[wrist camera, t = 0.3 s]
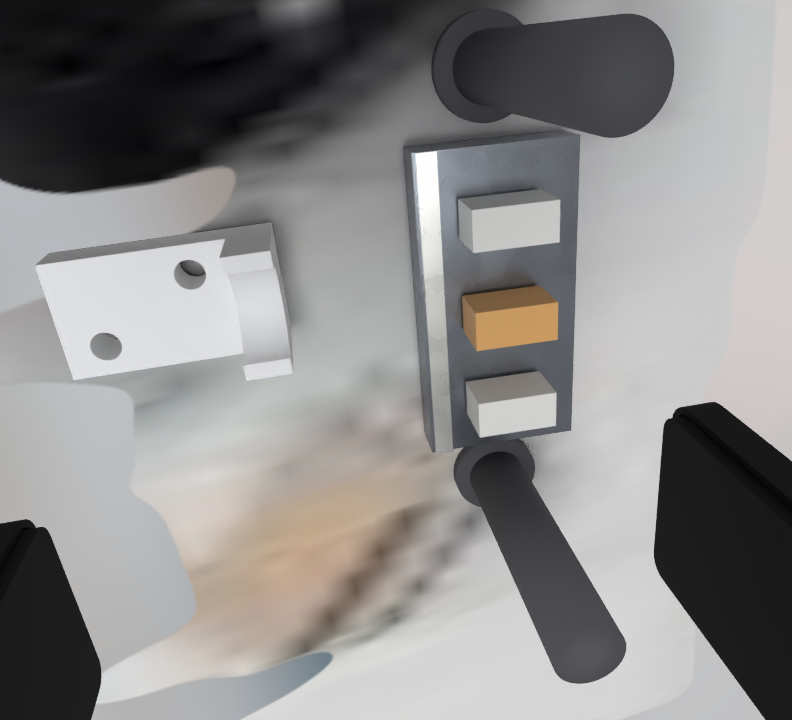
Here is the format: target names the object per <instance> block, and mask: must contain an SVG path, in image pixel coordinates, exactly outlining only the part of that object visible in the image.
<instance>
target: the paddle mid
mask: <svg viewBox="0 0 792 720" xmlns="http://www.w3.org/2000/svg"><path fill="white" fill-rule="evenodd" d="M462 306H463V329H464V333H465V334H466V336H467V337H468V339H469V340H470V342H471V343H472V345H473V346H474V348H475V349H476V351H482V350H489V349H496V348H503V347H510V346H517V345H524V344H531V343H538V342H545V341H552V340H558V302H557V301H556V300H555V299H554V298H553V297H552V296H551V295H550V294H549V293H547V292H546V291H545V290H544V289H543V288H542V287H541V286H540V285H539V286H532V287H524V288H517V289H509V290H502V291H494V292H486V293H479V294H471V295H464V296H462Z"/></svg>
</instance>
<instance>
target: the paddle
mask: <svg viewBox="0 0 792 720" xmlns="http://www.w3.org/2000/svg"><path fill="white" fill-rule="evenodd" d="M458 214H459V237H460V240H461V241H462V242H463V243H464V244H465V245H466V246H467V247H468V248H469V249H470V250H471V251H472V252H473V253H479V252H487V251H495V250H503V249H511V248H519V247H526V246H534V245H542V244H550V243H558V242H560V199H558V198H556V197H554V196H552V195H550V194H548V193H547V192H545V191H543V190H541V189H538V190H529V191H521V192H512V193H503V194H495V195H486V196H478V197H469V198H461V199H458Z"/></svg>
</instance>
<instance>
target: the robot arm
mask: <svg viewBox="0 0 792 720" xmlns="http://www.w3.org/2000/svg"><path fill="white" fill-rule="evenodd" d="M654 559H655V564H656V567H657V570H658V572H659V574H660V576H661V577H662V579H663V580H664V582H665V583H666V584H667V586H668V587H669V589H670V590H671V591H672V593H673V594H674V595H675V597H676V598H677V599H678V601H679V602H680V604H681V605H682V606H683V608H684V609H685V610H686V612H687V613H688V614H689V616H690V617H691V619H692V620H693V621H694V623H695V624H696V625H697V627H698V628H699V629H700V631H701V632H702V634H703V635H704V636H705V638H706V639H707V640H708V642H709V643H710V645H711V646H712V647H713V649H714V650H715V651H716V653H717V654H718V655H719V657H720V658H721V660H722V661H723V662H724V664H725V665H726V666H727V668H728V669H729V670H730V672H731V673H732V675H733V676H734V677H735V679H736V680H737V681H738V683H739V684H740V685H741V687H742V688H743V690H744V691H745V692H746V694H747V695H748V696H749V698H750V699H751V701H752V702H753V703H754V705H755V706H756V707H757V709H758V710H759V711H760V713H761V714H762V716H763V717H764V718H765V720H792V461H790V460H789V459H788V458H787V457H786V456H784V455H783V454H782V453H781V452H779V451H778V450H777V449H775V448H774V447H773V446H772V445H770V444H769V443H768V442H767V441H765V440H764V439H763V438H762V437H760V436H759V435H758V434H757V433H755V432H754V431H753V430H752V429H750V428H749V427H748V426H747V425H745V424H744V423H743V422H741V421H740V420H739V419H738V418H736V417H735V416H734V415H733V414H731V413H730V412H729V411H728V410H726V409H725V408H724V407H723V406H721V405H720V404H718V403H716V402H709V403H704V404H698V405H692V406H686V407H680V408H678V409H676V410H675V412H674V414H673V418H671V419H668V420H666V422H665V424H664V429H663V442H662V455H661V467H660V480H659V493H658V506H657V519H656V532H655V544H654ZM100 685H101V666H100V661H99V658H98V656H97V653H96V651H95V648H94V646H93V643H92V640H91V638H90V635H89V633H88V630H87V628H86V625H85V622H84V620H83V617H82V615H81V612H80V610H79V607H78V605H77V602H76V600H75V597H74V594H73V592H72V589H71V587H70V584H69V582H68V579H67V577H66V574H65V571H64V569H63V567H62V564H61V561H60V559H59V556H58V554H57V551H56V549H55V546H54V543H53V541H52V538H51V536H50V534H49V532H48V530H47V529H46V528H44V527H38V528H36V527H35V525H34V524H33V523H32V522H31V521H30V520H27V519H25V520H20V521H13V522H7V523H1V524H0V720H91V718H92V714H93V711H94V707H95V704H96V700H97V697H98V693H99V689H100Z"/></svg>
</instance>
